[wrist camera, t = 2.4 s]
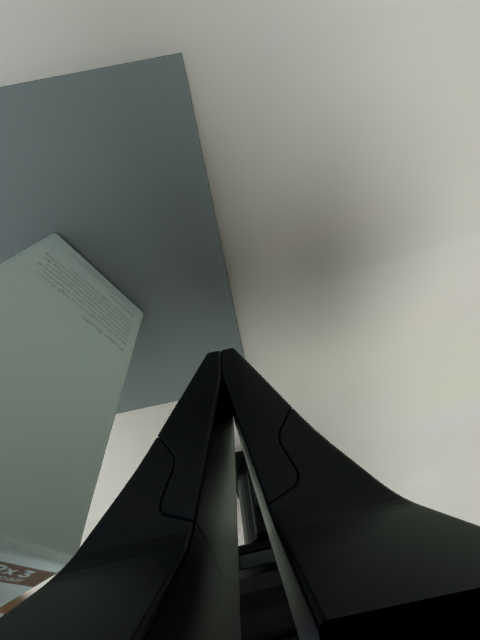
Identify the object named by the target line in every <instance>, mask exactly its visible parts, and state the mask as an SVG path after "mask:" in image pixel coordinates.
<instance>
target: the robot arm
mask: <svg viewBox="0 0 480 640" xmlns="http://www.w3.org/2000/svg"><path fill="white" fill-rule="evenodd" d="M233 417H234V419H233ZM234 421H235V425H236V429H237V432H238V435H239V439H240V442H241V445H242V449H243V452H244V453H239V454H235V438H234ZM236 492H237V495H238V498H239V499H240V508H241V516H242V525H243V533H244V542H245V545H241V546H238V531H237V500H236ZM0 640H480V526H478V525H475V524H472V523H469V522H466V521H464V520H461V519H458V518H455V517H452V516H450V515H447V514H444V513H441V512H438V511H435V510H433V509H430V508H427V507H424V506H421V505H419V504H416V503H414V502H412V501H409V500H407V499H405V498H403V497H402V496H400V495H398V494H396V493H395V492H393V491H392V490H390V489H389V488H387V487H386V486H384V485H383V484H382V483H380V482H379V481H378V480H377V479H375V478H374V477H373V476H372V475H370V474H369V473H368V472H366V471H365V470H364V469H363V468H361V467H360V466H359V465H358V464H356V463H355V462H354V461H353V460H351V459H350V458H349V457H348V456H346V455H345V454H344V453H343V452H341V451H340V450H339V449H337V448H336V447H335V446H334V445H332V444H331V443H330V442H329V441H328V440H326V439H325V438H324V437H323V436H322V435H320V434H319V433H318V432H317V431H316V430H315V429H314V428H313V427H312V426H310V425H309V424H308V423H307V422H306V421H305V420H304V419H303V418H302V417H301V416H300V415H299V414H298V413H297V412H296V411H295V410H294V409H292V407H291V406H290V405H289V404H288V403H287V402H286V401H285V400H284V399H283V398H282V397H281V396H280V395H279V393H278V392H277V391H276V390H275V389H274V388H273V387H272V386H271V385H270V384H269V383H268V382H267V381H266V380H265V379H264V378H263V377H262V376H261V375H260V374H259V373H258V372H257V371H256V370H255V369H254V368H253V367H252V366H251V365H250V364H249V363H248V362H247V361H246V360H245V359H244V358H243V357H242V356H241V355H240V354H239V352H238V351H237V350H236V349H234V348H229V349H224V350H222V351H221V352H220V351H215V352H210V353H207V354H206V356H205V358H204V359H203V361H202V363H201V364H200V366H199V368H198V369H197V371H196V373H195V374H194V376H193V378H192V379H191V381H190V383H189V384H188V386H187V388H186V389H185V391H184V393H183V394H182V396H181V398H180V400H179V401H178V403H177V405H176V406H175V408H174V410H173V411H172V413H171V415H170V416H169V418H168V420H167V421H166V423H165V425H164V426H163V428H162V430H161V431H160V433H159V435H158V438H156V439H155V441H154V443H153V444H152V446H151V448H150V450H149V451H148V453H147V454H146V456H145V457H144V459H143V461H142V462H141V464H140V465H139V467H138V468H137V470H136V471H135V473H134V474H133V476H132V477H131V478H130V480H129V481H128V483H127V484H126V486H125V487H124V488H123V490H122V491H121V493H120V494H119V495H118V497H117V498H116V499H115V501H114V502H113V503H112V505H111V506H110V508H109V509H108V510H107V512H106V513H105V514H104V516H103V517H102V518H101V520H100V521H99V522H98V524H97V525H96V527H95V528H94V529H93V531H92V532H91V533H90V535H89V536H88V537H87V539H86V540H85V542H84V543H83V544H82V546H81V547H80V548H79V549H78V551H77V552H76V553H75V555H74V556H73V557H72V558H71V559H70V561H69V562H68V563H67V564H66V565H65V566H64V567H63V568H62V569H61V570H60V571H59V572H58V573H57V574H56V575H55V576H54V577H53V578H52V579H51V580H50V581H49V582H48V583H46V584H45V585H44V586H43V587H41V588H40V589H39V590H38V591H36V592H35V593H34V594H32V595H31V596H29V597H28V598H27V599H25V600H24V601H22V602H21V603H20V604H18V605H17V606H16V607H14V608H13V609H11V610H10V611H9V612H7V613H6V614H5V615H3V616H2V617H1V618H0Z"/></svg>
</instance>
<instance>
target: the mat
mask: <svg viewBox="0 0 480 640" xmlns="http://www.w3.org/2000/svg"><path fill="white" fill-rule="evenodd" d="M52 233H56V234H58V235H59V236H60V237H61V238H62V239H63V240H64V241H65V242H66V243H68V244H69V245H70V246H71V247H72V248H73V249H74V250H75V251H76V252H77V253H79V254H80V255H81V256H82V257H83V258H84V259H85V260H86V261H87V262H88V263H89V264H91V265H92V266H93V267H94V268H95V269H96V270H97V271H98V272H99V273H100V274H101V275H103V276H104V277H105V278H106V279H107V280H108V281H109V282H110V283H111V284H112V285H113V286H114V287H116V288H117V289H118V290H119V291H120V292H121V293H122V294H123V295H124V296H125V297H126V298H128V299H129V300H130V301H131V302H132V303H133V304H134V305H135V306H136V307H138V308H139V309H140V310H141V311H142V312H143V318H142V321H141V325H140V328H139V331H138V335H137V338H136V342H135V346H134V349H133V353H132V357H131V360H130V364H129V368H128V371H127V375H126V378H125V382H124V385H123V389H122V392H121V396H120V400H119V403H118V407H117V410H116V414H117V413H122V412H127V411H131V410H136V409H141V408H145V407H150V406H154V405H159V404H164V403H168V402H173V401H177V400H180V398H181V396H182V394H183V393H184V391H185V389H186V388H187V386H188V384H189V383H190V381H191V379H192V378H193V376H194V374H195V373H196V371H197V369H198V368H199V366H200V364H201V363H202V361H203V359H204V358H205V356H206V354H207V353H210V352H215V351H220V352H221V351H222V350H224V349H229V348H234V349H236V350H237V351H238V352H239V354H240V355H241V356H242V357H243V358H244V355H243V350H242V345H241V340H240V335H239V330H238V326H237V321H236V316H235V311H234V306H233V301H232V296H231V292H230V287H229V282H228V277H227V272H226V267H225V262H224V257H223V253H222V248H221V243H220V238H219V233H218V228H217V223H216V219H215V214H214V209H213V204H212V199H211V194H210V189H209V185H208V180H207V175H206V170H205V165H204V160H203V155H202V150H201V146H200V141H199V136H198V131H197V126H196V121H195V116H194V112H193V107H192V102H191V97H190V92H189V87H188V82H187V78H186V73H185V68H184V63H183V58H182V53H178V54H172V55H167V56H162V57H157V58H151V59H146V60H141V61H135V62H130V63H125V64H120V65H114V66H109V67H104V68H99V69H93V70H88V71H83V72H77V73H72V74H67V75H62V76H56V77H51V78H46V79H40V80H35V81H30V82H25V83H19V84H14V85H9V86H4V87H0V264H1V263H3V262H5V261H6V260H8V259H10V258H12V257H13V256H15V255H17V254H18V253H20V252H22V251H24V250H25V249H27V248H29V247H30V246H32V245H34V244H36V243H38V242H39V241H41V240H43V239H44V238H46V237H48V236H49V235H50V234H52Z"/></svg>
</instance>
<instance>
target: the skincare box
mask: <svg viewBox="0 0 480 640" xmlns="http://www.w3.org/2000/svg"><path fill="white" fill-rule="evenodd" d="M142 318H143V312H142V311H141V310H140V309H139V308H138V307H136V306H135V305H134V304H133V303H132V302H131V301H130V300H129V299H128V298H126V297H125V296H124V295H123V294H122V293H121V292H120V291H119V290H118V289H117V288H116V287H114V286H113V285H112V284H111V283H110V282H109V281H108V280H107V279H106V278H105V277H104V276H103V275H101V274H100V273H99V272H98V271H97V270H96V269H95V268H94V267H93V266H92V265H91V264H89V263H88V262H87V261H86V260H85V259H84V258H83V257H82V256H81V255H80V254H79V253H77V252H76V251H75V250H74V249H73V248H72V247H71V246H70V245H69V244H68V243H66V242H65V241H64V240H63V239H62V238H61V237H60V236H59V235H58V234H56V233H52V234H50V235H49V236H48V237H46V238H44V239H43V240H41V241H39V242H38V243H36V244H34V245H32V246H30V247H29V248H27V249H25V250H24V251H22V252H20V253H18V254H17V255H15V256H13V257H12V258H10V259H8V260H6V261H5V262H3V263H1V264H0V607H1V606H3V605H4V604H6V603H8V602H9V601H11V600H13V599H14V598H16V597H18V596H20V595H21V594H23V593H25V592H27V591H28V590H30V589H31V588H33V587H35V586H36V585H38V584H40V583H41V582H43V581H45V580H46V579H48V578H50V577H51V576H53V575H55V574H56V573H58V572H59V571H60V570H61V569H62V568H63V567H64V566H65V565H66V564H67V563H68V562H69V561H70V559H71V558H72V557H73V556H74V555H75V553H76V552H77V551H78V549H79V547H80V543H81V539H82V535H83V531H84V527H85V523H86V519H87V516H88V512H89V508H90V504H91V501H92V497H93V493H94V490H95V486H96V483H97V479H98V476H99V472H100V469H101V465H102V461H103V457H104V454H105V450H106V446H107V443H108V439H109V435H110V432H111V428H112V425H113V421H114V418H115V414H116V410H117V407H118V403H119V400H120V396H121V392H122V389H123V385H124V382H125V378H126V375H127V371H128V368H129V364H130V360H131V357H132V353H133V349H134V346H135V342H136V338H137V335H138V331H139V328H140V325H141V321H142Z"/></svg>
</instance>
